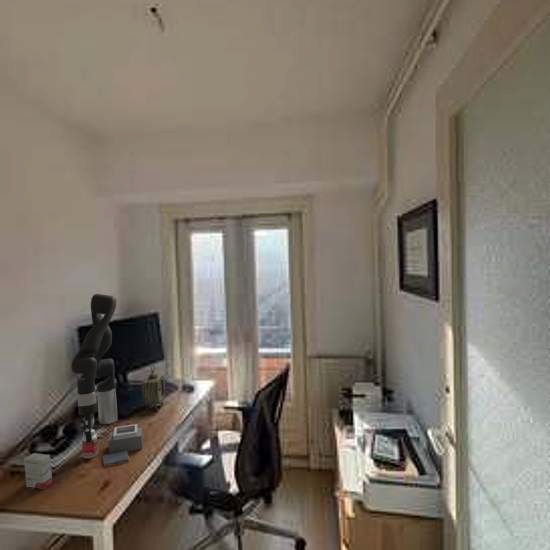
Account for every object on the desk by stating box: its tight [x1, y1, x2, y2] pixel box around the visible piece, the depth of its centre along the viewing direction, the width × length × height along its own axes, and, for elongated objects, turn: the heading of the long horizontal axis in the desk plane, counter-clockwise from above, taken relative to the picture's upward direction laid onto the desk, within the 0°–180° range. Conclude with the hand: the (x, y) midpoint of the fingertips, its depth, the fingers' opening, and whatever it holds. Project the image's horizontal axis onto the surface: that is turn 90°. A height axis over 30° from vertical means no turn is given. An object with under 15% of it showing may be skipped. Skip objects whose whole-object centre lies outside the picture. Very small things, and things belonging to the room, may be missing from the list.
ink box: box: [23, 452, 54, 490], centre depth 169 cm, size 9×5×12 cm, turn 71°
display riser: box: [108, 423, 144, 455], centre depth 199 cm, size 10×14×8 cm
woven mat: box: [102, 450, 131, 468], centre depth 187 cm, size 10×11×2 cm
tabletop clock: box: [141, 364, 166, 412], centre depth 247 cm, size 14×9×25 cm, turn 179°
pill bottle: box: [81, 428, 99, 459], centre depth 192 cm, size 6×6×11 cm
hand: (90, 438), depth 192 cm, fingers open, 8 cm apart
